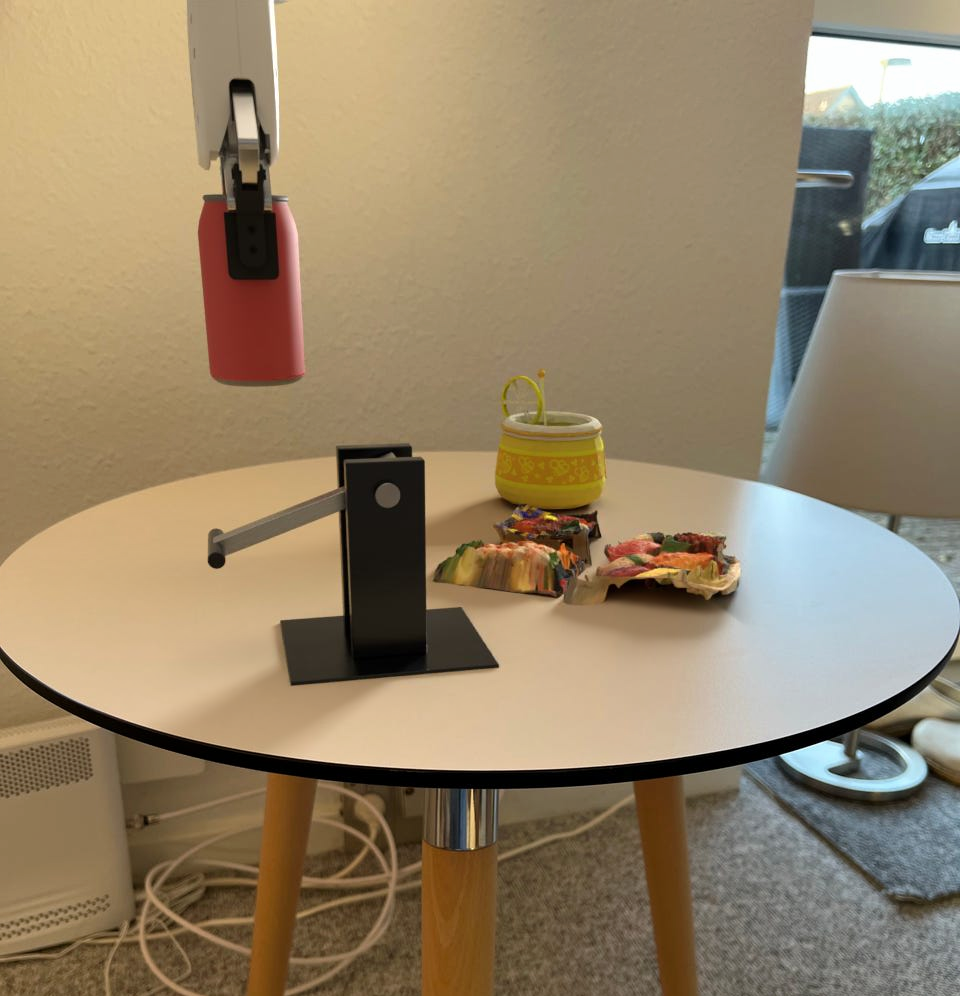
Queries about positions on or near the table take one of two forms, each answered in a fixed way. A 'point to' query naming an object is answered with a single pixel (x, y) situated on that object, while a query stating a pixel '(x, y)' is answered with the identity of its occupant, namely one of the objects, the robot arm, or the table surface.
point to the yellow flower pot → (548, 454)
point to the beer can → (251, 306)
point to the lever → (274, 524)
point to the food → (587, 559)
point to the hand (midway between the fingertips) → (251, 274)
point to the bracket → (382, 584)
